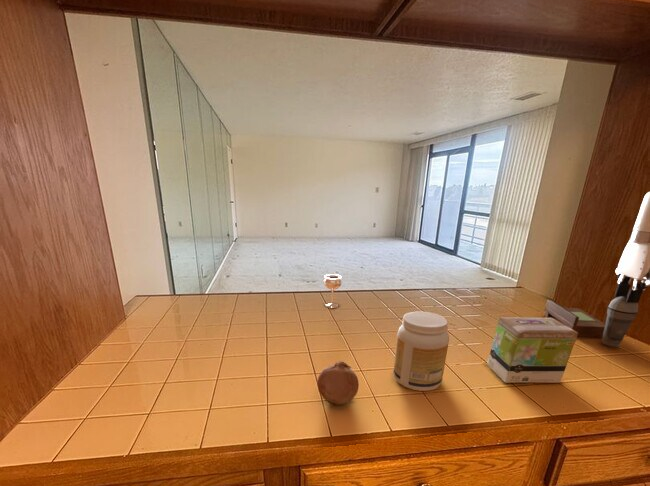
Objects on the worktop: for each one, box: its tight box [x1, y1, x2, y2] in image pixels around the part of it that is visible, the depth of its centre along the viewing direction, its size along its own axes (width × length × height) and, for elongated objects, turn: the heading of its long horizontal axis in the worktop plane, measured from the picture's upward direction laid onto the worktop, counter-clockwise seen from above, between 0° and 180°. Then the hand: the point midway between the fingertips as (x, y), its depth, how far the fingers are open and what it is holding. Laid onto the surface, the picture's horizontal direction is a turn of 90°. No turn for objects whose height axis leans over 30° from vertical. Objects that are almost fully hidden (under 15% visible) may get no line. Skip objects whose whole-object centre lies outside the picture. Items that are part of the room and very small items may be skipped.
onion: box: [316, 361, 360, 406], centre depth 78 cm, size 10×9×10 cm
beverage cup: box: [601, 295, 639, 348], centre depth 105 cm, size 7×7×20 cm
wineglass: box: [323, 273, 342, 309], centre depth 136 cm, size 7×7×12 cm
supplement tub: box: [392, 311, 450, 392], centre depth 86 cm, size 12×12×17 cm
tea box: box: [486, 316, 578, 384], centre depth 90 cm, size 15×10×15 cm, turn 94°
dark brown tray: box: [543, 298, 606, 339], centre depth 122 cm, size 12×18×7 cm, turn 175°
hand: (626, 298), depth 104 cm, fingers closed on beverage cup, 4 cm apart
